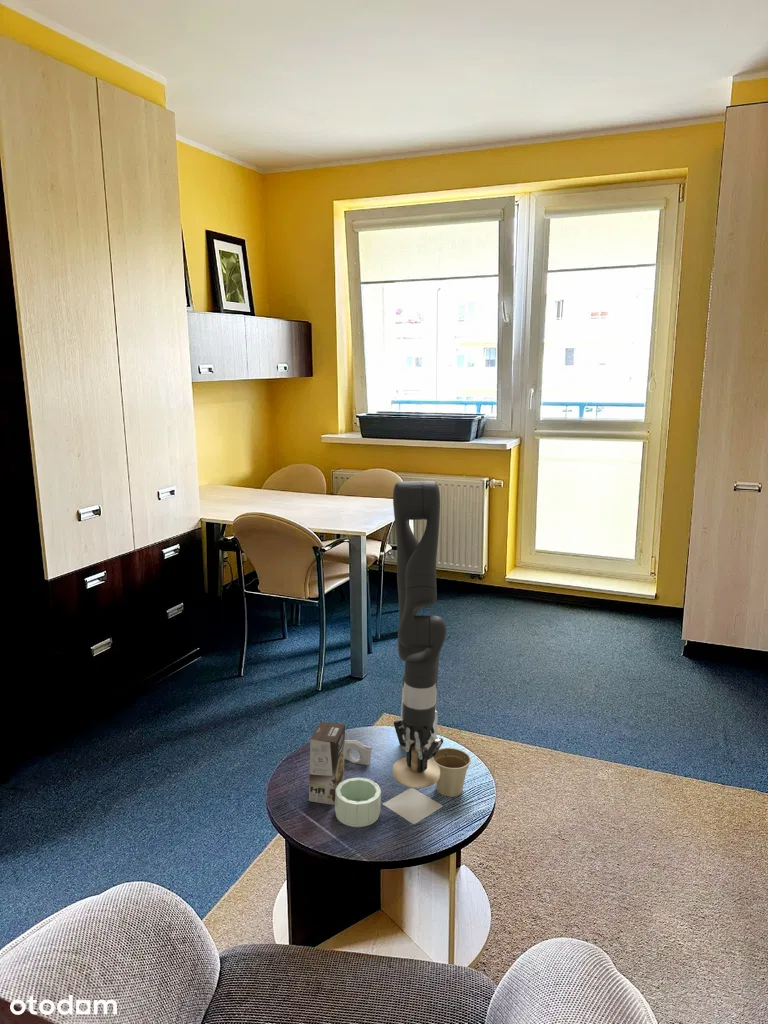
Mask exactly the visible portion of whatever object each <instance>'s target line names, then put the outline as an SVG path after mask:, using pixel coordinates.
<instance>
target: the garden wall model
mask: <svg viewBox="0 0 768 1024" xmlns="http://www.w3.org/2000/svg"><path fill="white" fill-rule="evenodd" d="M372 750H373V746H367V745H365V744H364V743H363V742H360V741H359V740H357V739H352V740H351V739H350V740H348V739H345V748H344V760H346V761H349V762H350V763H353V764H358V765H365V766H370V765H371V761H372V760H371V759H372V757H371V756H372V755H371V754H372Z"/></svg>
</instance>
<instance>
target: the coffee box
mask: <svg viewBox="0 0 768 1024" xmlns="http://www.w3.org/2000/svg"><path fill="white" fill-rule="evenodd" d="M309 739H310V743H309V744H310V745H309V746H310V747H309V778H308V779H309V783H308V786H309V787H308V788H309V789H308V801H309V802H314V803H321V804H326V805H334V806H335V790H336V788H337V786H338V784H339V783H341V782H343V781H345V759H344V748H345V740H346V724H344V723H337V722H327V721H320V722H319V724H318V725H317V727H316V728H315V731H314V732H313V734H312V735H311V737H310V738H309Z"/></svg>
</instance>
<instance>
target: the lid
mask: <svg viewBox="0 0 768 1024" xmlns="http://www.w3.org/2000/svg"><path fill="white" fill-rule="evenodd" d="M418 758H419V757H418V749H416V747H414V748H412V751H411V767H408V766H407V762H406V756H405V757H402V758H399V759H397V760H396V761H395V762H394V763H393V766H392V777H393V778H394V780H395V781H396V782H397V783H398V784H401V785H402V786H404V787H405V786H406V787H407V788H408V787H409V788H411V787H412V788H414V789H415V788H416V789H423V788H428V787H431V786H433V785H436V782H437V781H438V780H439V778H440V768H439V766H438V765H437V764H436V763H435V762H434V761H433V760H432V759H429V760H428V763H427V769H426V770H425V771H424V772H422V773H419V772H418V771H417V769H418Z"/></svg>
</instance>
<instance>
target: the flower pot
mask: <svg viewBox="0 0 768 1024" xmlns="http://www.w3.org/2000/svg"><path fill="white" fill-rule="evenodd" d="M431 760H432V761H434V762H435V763H436V764H437V765H438V766H439V768H440V778H439V780H438V781H437V782H436V783H435V785H436V786H435V787H436V791H437V792H438V793H439V794H440V795H442V796H444V797H452V798H453V797H457V796H460V795H461V794H462V792H463V787H464V784H465V781H466V780H465V779H466V773H467V770H468V768H469V766H470V765H471V763H472V758H471V756H470V755H469V754H468V753H467V752H466V751H465V750H464V751H463V750H461V749H459V748H455V747H442V748H441V747H440V748H439V750H438V752H437V753H436V755H435V756H434V757H432V758H431Z"/></svg>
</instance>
